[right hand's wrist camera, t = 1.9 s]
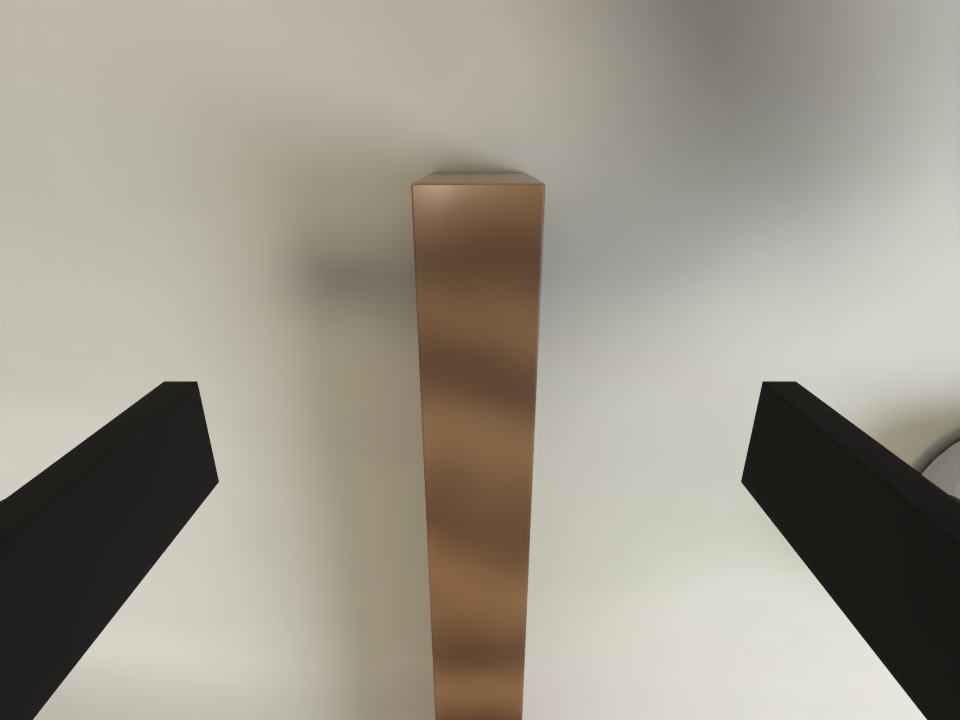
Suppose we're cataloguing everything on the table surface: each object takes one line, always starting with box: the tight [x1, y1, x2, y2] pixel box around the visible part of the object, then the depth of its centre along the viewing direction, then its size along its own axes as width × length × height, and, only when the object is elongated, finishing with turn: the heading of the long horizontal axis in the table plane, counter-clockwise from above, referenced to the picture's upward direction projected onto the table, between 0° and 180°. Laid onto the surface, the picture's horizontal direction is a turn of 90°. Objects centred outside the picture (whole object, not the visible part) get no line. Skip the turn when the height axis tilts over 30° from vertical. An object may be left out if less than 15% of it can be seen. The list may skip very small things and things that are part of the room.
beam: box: [411, 173, 545, 720], centre depth 31 cm, size 51×5×8 cm, turn 0°
